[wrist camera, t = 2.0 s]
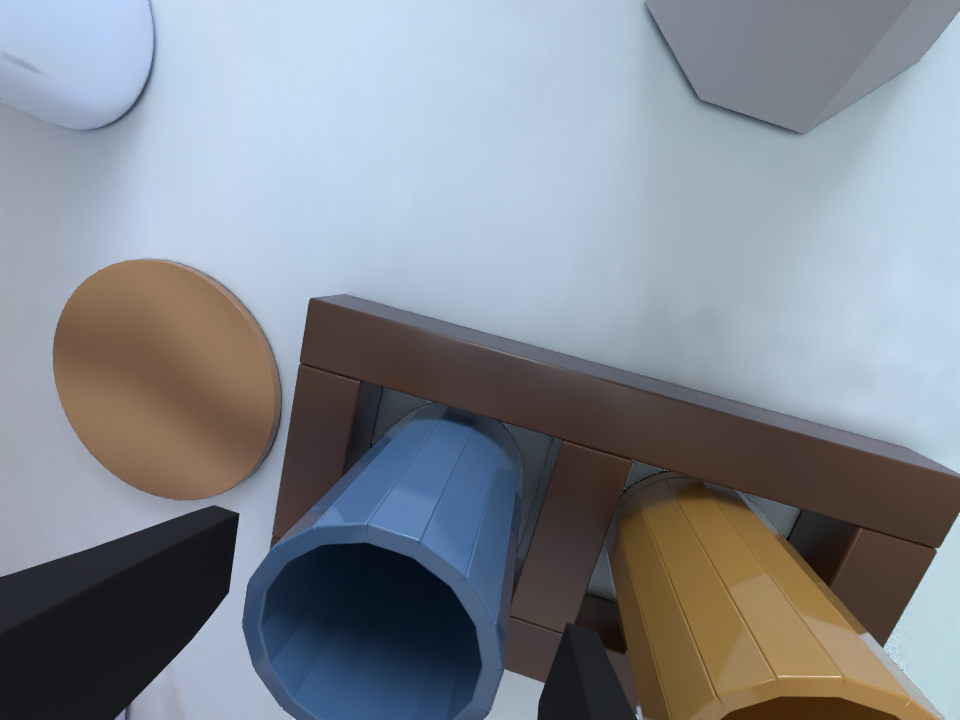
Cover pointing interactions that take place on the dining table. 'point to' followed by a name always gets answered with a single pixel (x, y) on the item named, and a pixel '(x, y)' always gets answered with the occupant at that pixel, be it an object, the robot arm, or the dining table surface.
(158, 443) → the coaster
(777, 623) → the ochre cup
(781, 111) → the flask
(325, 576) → the blue cup
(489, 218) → the dining table surface
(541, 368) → the cup holder
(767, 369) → the dining table surface
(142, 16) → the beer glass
